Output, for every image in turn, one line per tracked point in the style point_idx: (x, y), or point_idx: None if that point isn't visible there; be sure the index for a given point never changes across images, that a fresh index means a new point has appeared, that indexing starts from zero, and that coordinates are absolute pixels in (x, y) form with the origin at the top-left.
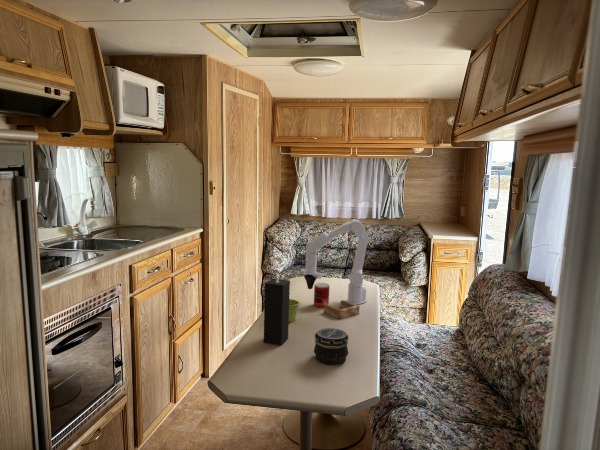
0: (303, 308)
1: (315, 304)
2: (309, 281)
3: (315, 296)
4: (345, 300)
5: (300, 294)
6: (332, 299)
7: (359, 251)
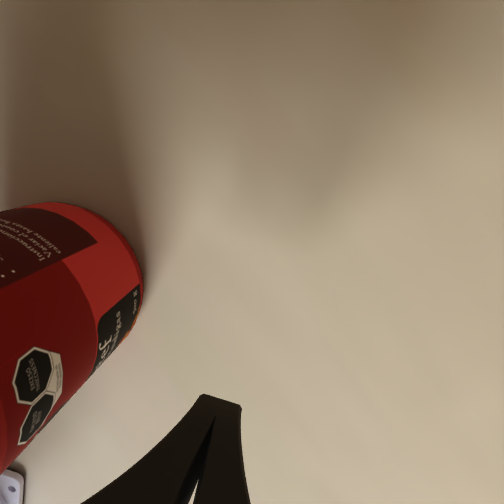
0: (131, 54)
1: (71, 208)
2: (111, 497)
3: (3, 230)
4: (12, 486)
5: (456, 451)
6: None
7: None
